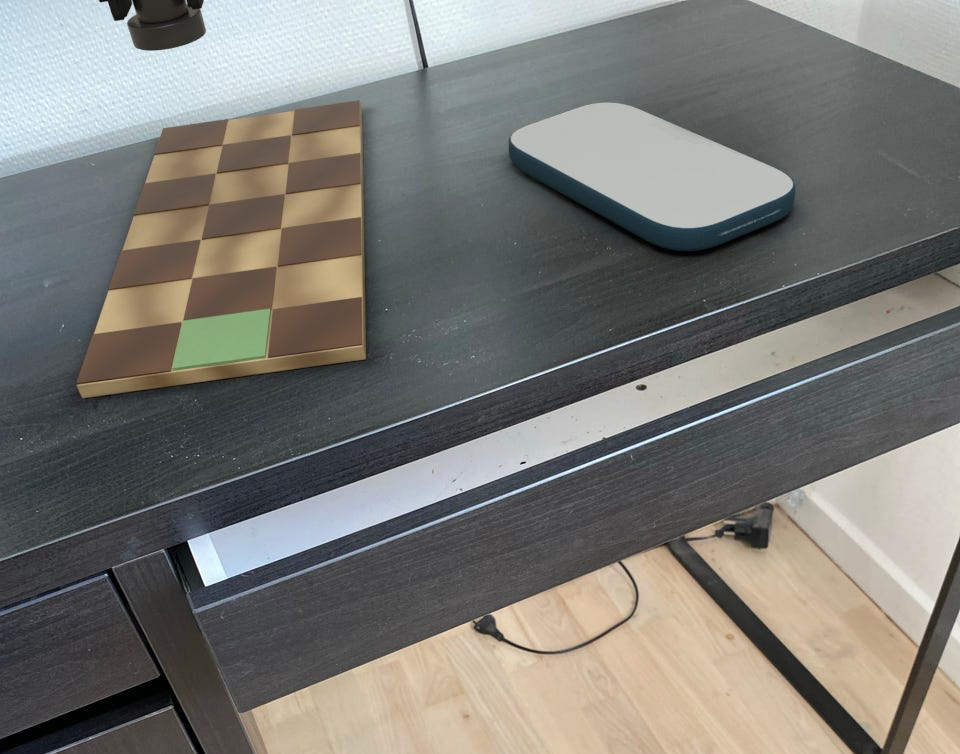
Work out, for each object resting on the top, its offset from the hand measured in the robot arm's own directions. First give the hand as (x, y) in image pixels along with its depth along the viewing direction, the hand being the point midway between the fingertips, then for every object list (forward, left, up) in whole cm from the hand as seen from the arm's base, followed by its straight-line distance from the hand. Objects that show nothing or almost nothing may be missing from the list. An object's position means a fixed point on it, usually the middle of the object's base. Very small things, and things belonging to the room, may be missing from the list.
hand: (159, 4), depth 60 cm
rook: (0, 0, -2) cm, 2 cm away
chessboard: (0, +8, -17) cm, 19 cm away
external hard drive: (+30, +6, -17) cm, 35 cm away
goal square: (0, -10, -16) cm, 19 cm away
